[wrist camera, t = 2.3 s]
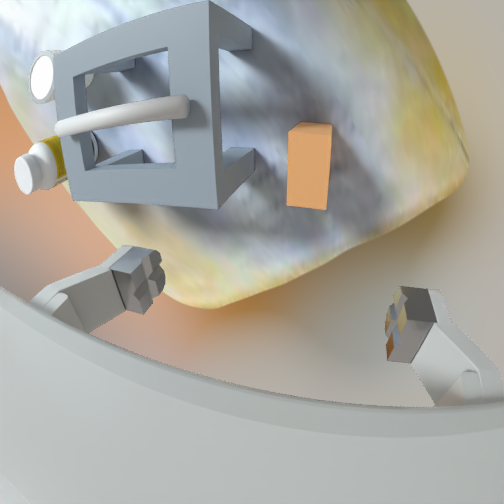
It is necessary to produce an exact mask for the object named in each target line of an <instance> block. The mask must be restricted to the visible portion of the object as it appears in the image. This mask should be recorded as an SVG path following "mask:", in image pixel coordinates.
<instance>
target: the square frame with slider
mask: <svg viewBox="0 0 504 504" xmlns="http://www.w3.org/2000/svg"><path fill="white" fill-rule="evenodd" d="M218 48H220V49H223V50H226V51H234V50H248V49H252V27H251V26H249V25H248V24H246V23H245V22H243V21H242V20H240V19H239V18H237V17H235V16H234V15H232V14H231V13H229V12H228V11H226V10H224V9H223V8H221V7H219V6H218V5H216V4H214V3H213V2H211V1H209V0H207V1H202V2H197V3H192V4H188V5H183V6H179V7H175V8H171V9H168V10H164V11H161V12H157V13H154V14H151V15H147V16H144V17H141V18H138V19H135V20H133V21H130V22H127V23H124V24H122V25H119V26H117V27H114V28H112V29H109V30H107V31H104V32H102V33H100V34H97V35H95V36H93V37H91V38H89V39H87V40H84V41H82V42H80V43H78V44H76V45H74V46H72V47H71V48H69V49H67V50H65V51H63V52H61V53H59V54H58V55H56V56H54V57H53V72H54V89H55V101H56V111H57V120H58V122H57V123H56V125H55V134H56V135H57V136H58V137H60V141H61V147H62V152H63V158H64V163H65V168H66V173H67V178H68V182H69V186H70V191H71V195H72V199H73V201H92V202H115V203H135V204H151V205H167V206H181V207H194V208H206V209H219V208H220V207H221V206H222V204H223V203H224V202H225V201H226V200H227V199H228V198H229V197H230V196H231V195H232V194H233V193H234V192H235V191H236V190H237V188H238V187H239V186H240V185H241V184H242V183H243V182H244V181H245V180H246V179H247V178H248V177H249V176H250V175H251V174H252V173H253V172H254V171H255V164H254V148H238V147H231V148H229V149H228V150H226V151H224V152H223V153H222V135H221V113H220V87H219V55H218ZM163 51H168V64H169V85H170V96H167V97H160V98H154V99H148V100H142V101H136V102H131V103H126V104H121V105H117V106H112V107H108V108H103V109H99V110H95V111H91V112H88V108H87V98H86V85H85V75H88V74H97V73H108V72H120V71H124V70H127V69H131V68H135V58H139V57H143V56H147V55H151V54H155V53H159V52H163ZM170 119H172V128H173V140H174V150H175V160H176V163H145V164H144V159H143V151H142V150H129V151H125V152H123V153H120V154H118V155H116V156H114V157H111V158H109V159H107V160H105V161H102V162H100V163H98V164H96V165H95V159H94V153H93V147H92V140H91V133H90V131H93V130H98V129H104V128H109V127H115V126H121V125H128V124H135V123H142V122H151V121H160V120H170Z"/></svg>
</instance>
